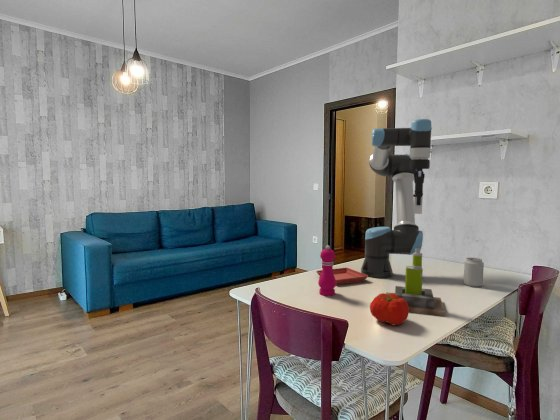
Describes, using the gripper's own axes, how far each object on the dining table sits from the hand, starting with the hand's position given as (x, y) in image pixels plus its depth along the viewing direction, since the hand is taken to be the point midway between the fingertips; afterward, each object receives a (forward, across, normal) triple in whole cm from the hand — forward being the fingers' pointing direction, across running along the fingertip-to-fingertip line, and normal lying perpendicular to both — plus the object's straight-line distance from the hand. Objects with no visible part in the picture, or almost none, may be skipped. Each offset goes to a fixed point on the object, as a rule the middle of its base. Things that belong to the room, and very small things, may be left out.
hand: (417, 211), depth 146 cm
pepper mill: (+34, -15, +34) cm, 50 cm away
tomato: (+33, -37, +8) cm, 50 cm away
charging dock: (+33, -18, +1) cm, 37 cm away
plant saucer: (+35, +9, +32) cm, 48 cm away
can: (+34, +20, -25) cm, 47 cm away
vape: (+32, -18, +1) cm, 36 cm away
